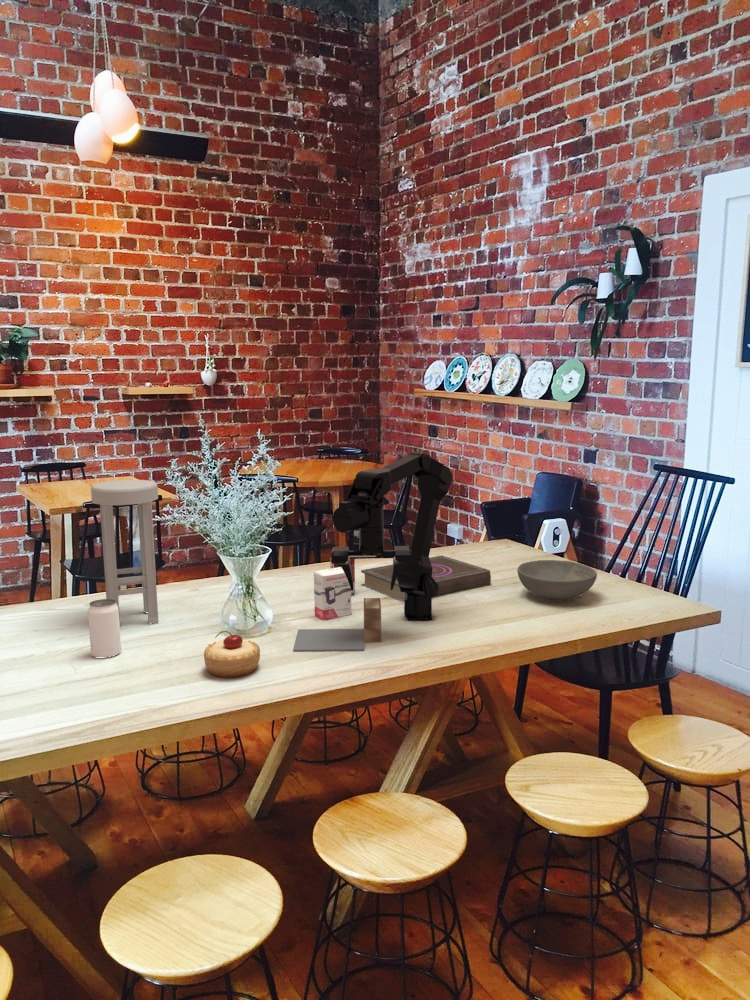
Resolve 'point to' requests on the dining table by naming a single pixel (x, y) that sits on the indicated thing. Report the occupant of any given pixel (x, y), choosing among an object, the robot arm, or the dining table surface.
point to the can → (104, 628)
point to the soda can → (351, 570)
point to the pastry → (231, 656)
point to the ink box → (331, 594)
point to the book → (444, 572)
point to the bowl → (556, 578)
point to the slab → (372, 620)
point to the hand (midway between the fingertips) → (372, 590)
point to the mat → (329, 640)
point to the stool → (143, 496)
